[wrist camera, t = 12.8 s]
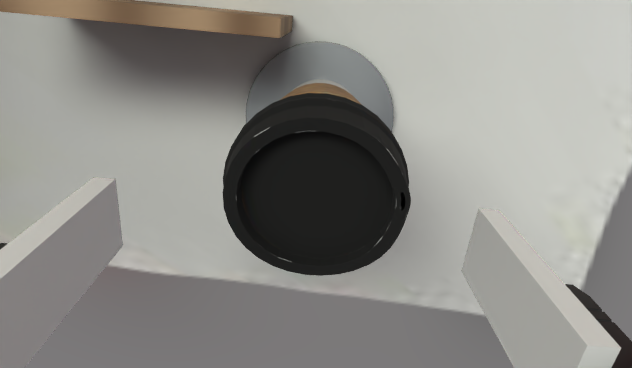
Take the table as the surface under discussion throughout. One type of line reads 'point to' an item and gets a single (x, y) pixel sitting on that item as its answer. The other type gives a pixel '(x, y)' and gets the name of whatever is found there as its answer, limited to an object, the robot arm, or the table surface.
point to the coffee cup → (316, 182)
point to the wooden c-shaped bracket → (158, 15)
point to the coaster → (321, 77)
